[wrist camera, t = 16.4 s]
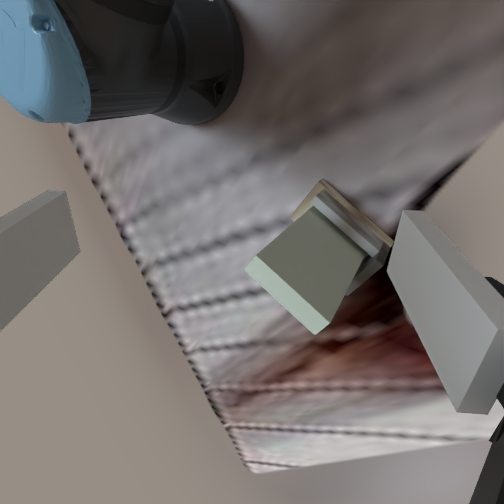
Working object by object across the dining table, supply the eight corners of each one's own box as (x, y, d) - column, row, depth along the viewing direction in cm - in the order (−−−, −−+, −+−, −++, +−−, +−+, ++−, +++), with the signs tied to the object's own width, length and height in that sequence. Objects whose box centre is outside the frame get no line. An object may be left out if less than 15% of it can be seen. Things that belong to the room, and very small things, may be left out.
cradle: (293, 214, 45) (272, 231, 40) (322, 178, 42) (303, 192, 36) (358, 271, 44) (345, 297, 39) (393, 240, 40) (385, 264, 35)
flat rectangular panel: (302, 219, 43) (238, 276, 30) (317, 201, 41) (255, 255, 29) (351, 263, 42) (307, 341, 30) (369, 247, 41) (330, 322, 28)
